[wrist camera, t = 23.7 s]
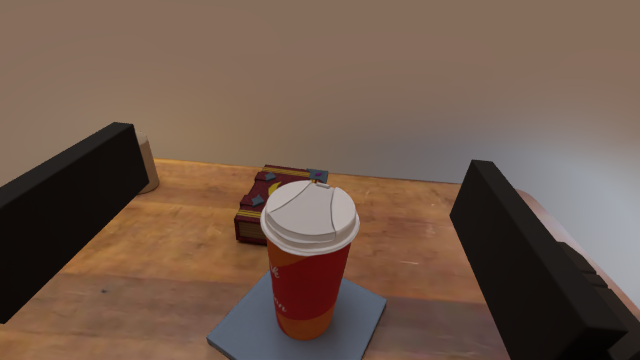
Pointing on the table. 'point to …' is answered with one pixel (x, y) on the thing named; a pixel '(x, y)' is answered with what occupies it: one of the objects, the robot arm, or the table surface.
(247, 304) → the cup mat
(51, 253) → the robot arm
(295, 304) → the coffee cup
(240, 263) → the table surface
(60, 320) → the table surface
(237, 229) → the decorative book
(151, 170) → the candle
